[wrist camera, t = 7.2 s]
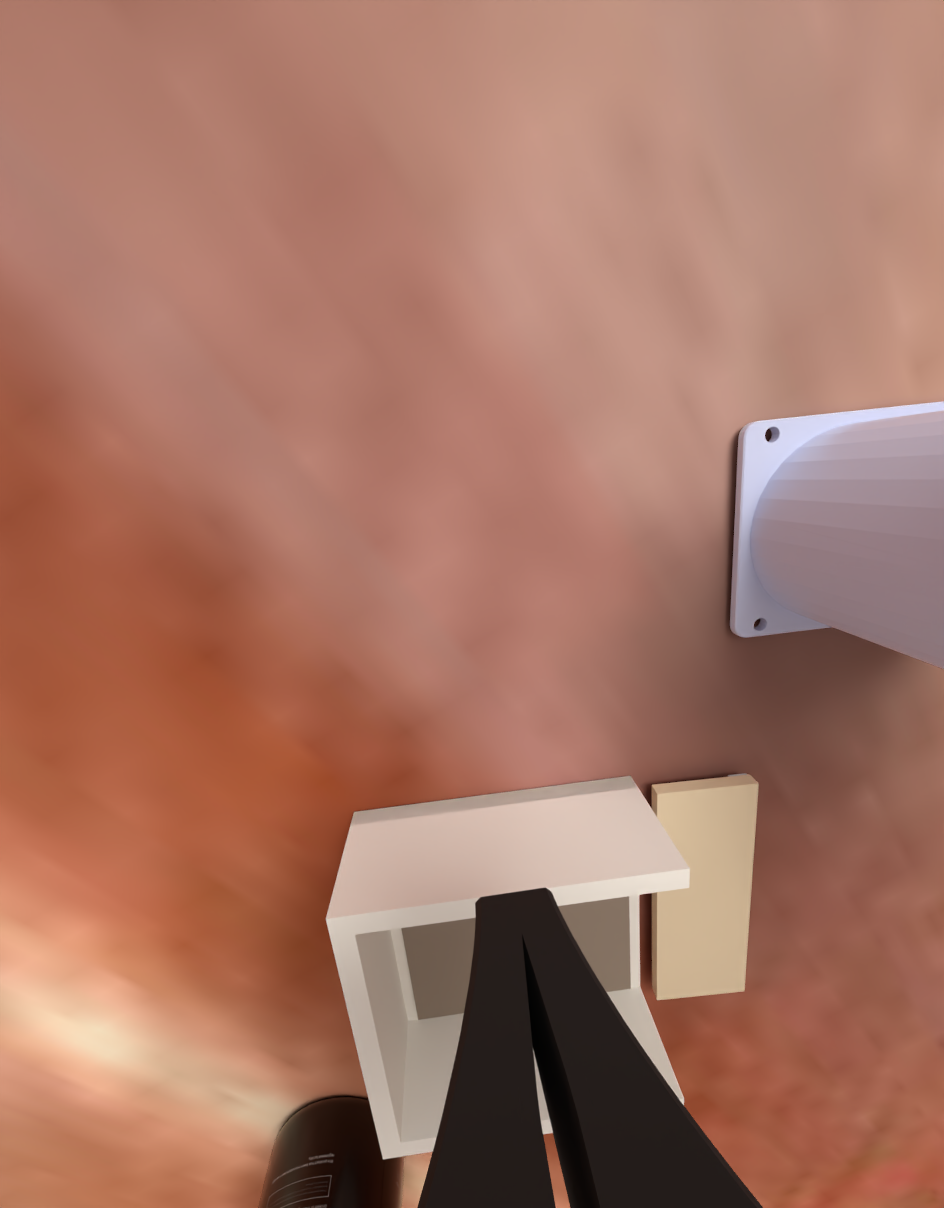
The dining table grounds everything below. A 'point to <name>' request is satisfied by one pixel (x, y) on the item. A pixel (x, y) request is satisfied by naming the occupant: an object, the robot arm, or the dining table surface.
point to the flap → (705, 887)
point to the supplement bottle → (332, 1160)
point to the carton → (447, 925)
